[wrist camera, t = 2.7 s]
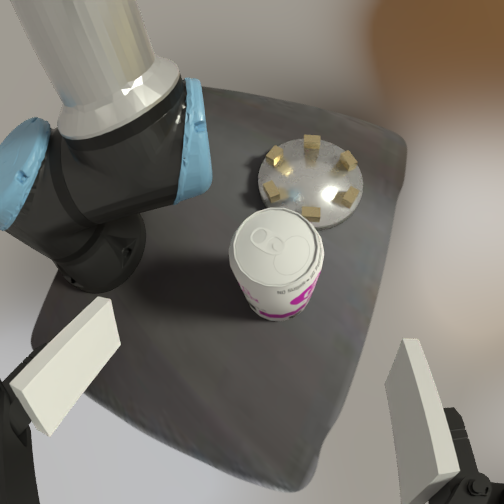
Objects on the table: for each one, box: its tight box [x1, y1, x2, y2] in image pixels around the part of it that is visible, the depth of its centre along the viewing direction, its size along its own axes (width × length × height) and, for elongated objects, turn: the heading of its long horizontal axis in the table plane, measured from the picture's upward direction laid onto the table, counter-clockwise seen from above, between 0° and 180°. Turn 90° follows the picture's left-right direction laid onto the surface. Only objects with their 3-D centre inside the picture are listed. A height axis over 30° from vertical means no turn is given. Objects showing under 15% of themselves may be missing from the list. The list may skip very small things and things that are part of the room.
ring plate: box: [258, 135, 363, 231], centre depth 43 cm, size 15×15×3 cm
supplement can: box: [229, 208, 324, 321], centre depth 33 cm, size 8×8×15 cm
